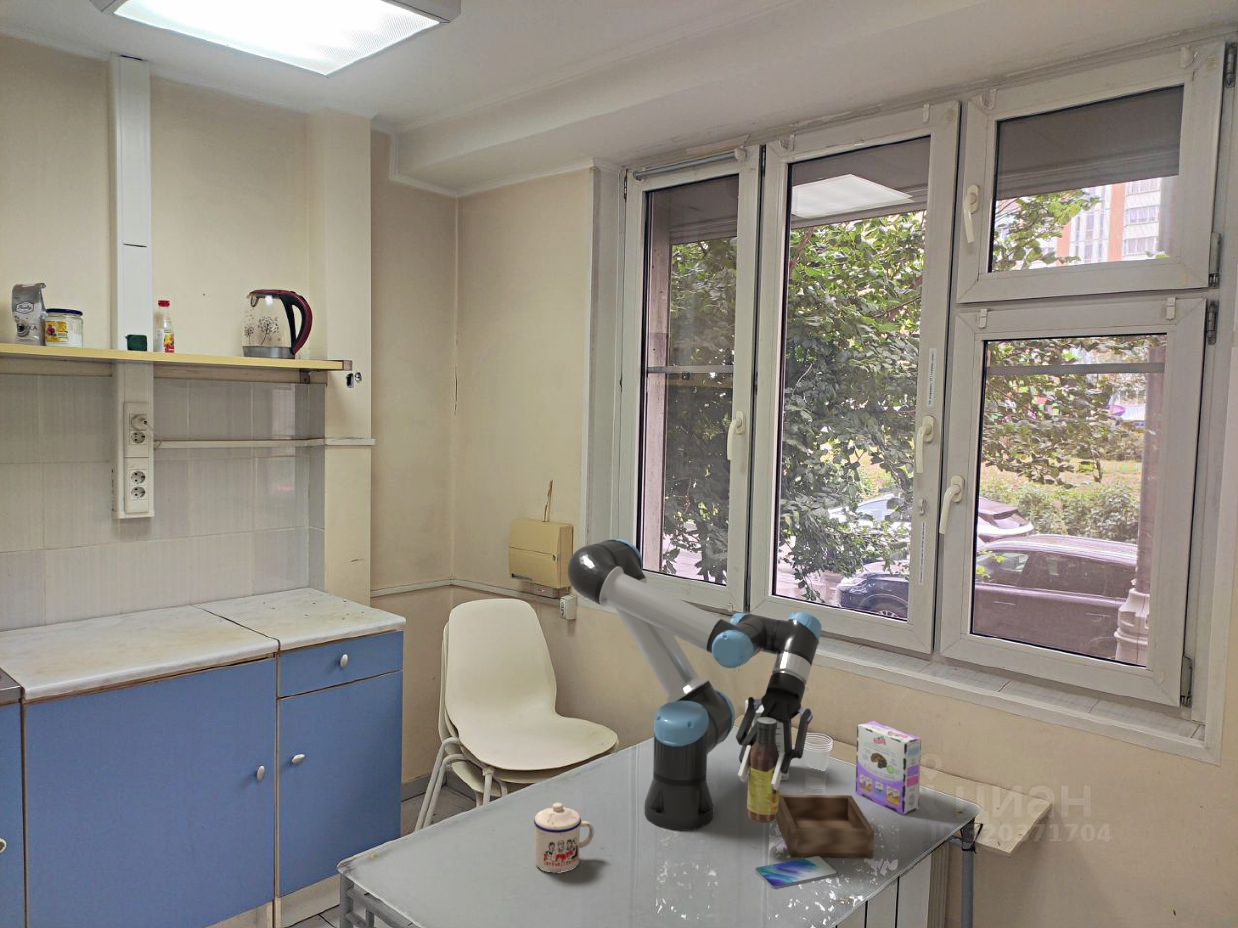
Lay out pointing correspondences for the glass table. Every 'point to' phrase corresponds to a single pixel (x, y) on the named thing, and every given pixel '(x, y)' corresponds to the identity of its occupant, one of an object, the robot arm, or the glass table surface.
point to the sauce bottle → (763, 773)
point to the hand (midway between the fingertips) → (757, 782)
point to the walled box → (824, 826)
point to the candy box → (888, 766)
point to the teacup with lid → (559, 838)
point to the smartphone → (796, 872)
